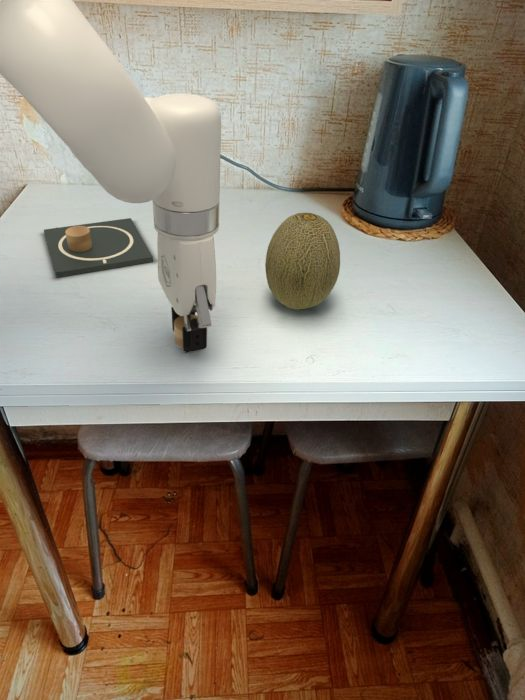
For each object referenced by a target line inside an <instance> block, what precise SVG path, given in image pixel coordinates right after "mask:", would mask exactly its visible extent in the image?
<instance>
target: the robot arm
mask: <svg viewBox="0 0 525 700" xmlns="http://www.w3.org/2000/svg"><path fill="white" fill-rule="evenodd" d="M0 76H1V77H3V78H4V79H5V80H6V82H8V83H9V84H10V85H11V87H13V88H14V89H15V90H16V91H17V92H18V93H19V94H20V96H22V97H23V99H24V100H25V101H26V102H27V103H28V104H29V105H30V107H32V108H33V110H35V111H36V113H37V114H38V115H39V116H40V117H41V118H42V119H43V120H44V122H45V123H46V124H47V125H48V126H49V127H50V128H51V130H52V131H53V132H54V133H55V134H56V135H57V136H58V138H60V139H61V141H62V142H63V143H64V145H66V146H67V147H68V149H69V150H70V152H71V154H72V155H73V156H74V157H75V158H76V160H77V161H78V162H79V163H80V164H81V165H82V167H83V168H85V169H86V171H87V172H88V173H89V174H90V175H91V176H92V177H93V178H94V179H95V180H96V181H97V183H98V184H99V186H101V188H102V189H103V190H104V191H105V192H106V193H108V195H110V196H112V197H113V198H115V199H117V200H120V201H121V202H124V203H129V204H144V203H149V202H151V201H152V213H153V226H154V230H155V231H156V232H157V243H156V245H157V248H156V249H157V278H158V282H159V285H160V287H161V289H162V291H163V292H164V295H165V296H166V298H167V301H168V302H169V303H170V307H171V308H170V309H171V326H172V327H171V328H172V331H173V332H174V321H175V319H176V318H178V317H179V316H184V322H185V327H182V334H183V348H182V351H183V352H184V353H185V354H188V353H192V352H197V351H201V350H206V349H207V347H208V328H209V327H212V319H211V314H210V311H213V310H214V309H215V307H216V301H217V263H216V248H215V247H216V246H215V238H214V237H215V236H214V235H216V234H217V233H218V231H219V230H220V198H221V195H220V194H221V153H222V152H221V149H222V147H221V146H222V115H221V111H220V108H219V106H218V104H217V103H216V102H214V101H213V100H212V99H210V98H208V97H206V96H202V95H199V94H193V93H183V92H182V93H181V92H179V93H177V92H175V93H166V94H163V95H159V96H156V97H152V96H151V97H150V96H149V97H148V96H143V94H142V93H141V90H140V89H139V88H138V87H137V85H136V83H135V82H134V81H133V79H132V78H131V76H130V75H129V74H128V72H127V71H126V69H125V68H124V66H122V63H120V61H119V60H118V59H117V57H116V56H115V54H114V53H113V51H112V50H111V49H110V47H108V45H107V44H106V42H105V41H104V40H103V39H102V37H101V36H100V35H99V34H98V32H97V31H96V30H95V28H94V27H93V26H92V24H91V23H90V22H89V21H88V19H87V18H86V17H85V15H84V14H83V13H82V11H81V10H80V8H79V7H78V6H77V5H76V3H75V1H74V0H0ZM190 314H192V315H197V318H194V319H192V320H191V317H190Z"/></svg>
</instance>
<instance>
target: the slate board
mask: <svg viewBox="0 0 525 700" xmlns="http://www.w3.org/2000/svg"><path fill="white" fill-rule="evenodd" d="M133 221H134V220H132V218H131V217H127V218H119V219H114V220H105V221H99V222H91V223H83V224H75V225H69V226H60V227H52V228H46V229H43V234H44V237H45V241H46V244H47V245H46V246H47V248H48V251H49V255H50V259H51V262H52V266H53V269H54V274H55V277H56V278H62V277H69V276H75V275H80V274H88V273H93V272H98V271H105V270H110V269H111V270H112V269H116V268H122V267H130V266H134V265H142V264H147V263H152V262H154V256H153V254H152V253H151V251H150V249H149V248H148V246H147V244H146V242H145V241H144V239H143V237H142V235H141V233H140V231H139V230H138V228H137V227H136V224H135V223H134V222H133ZM73 226H85V227H88V228H89V229H90V234H91V240H92V248H91V249H89V250H87V251H84V252H74V251H71V250H70V249H69V248H68V243H67V238H66V233H65V231H66V230H67V229H68V228H70V227H73Z"/></svg>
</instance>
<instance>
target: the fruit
mask: <svg viewBox="0 0 525 700" xmlns="http://www.w3.org/2000/svg"><path fill="white" fill-rule="evenodd" d="M338 240H339V239H338V237H337V235H336V232H335V230H334V228H333V226H332V224H331V223H329V221H328V220H327V219H326V218H324V217H323V216H321V215H319V214H315V213H312V212H297V213H295V214H292V215H290V216H288V217H287V218H286V219H285V220H283V221H282V222H281V223H280V225H278V227H277V229H276V230H275V231H274V232H273V235H272V236H271V239H270V241H269V244H268V246H267V251H266V255H265V264H264V267H265V268H264V269H265V278H266V280H267V285H268V288H269V290H270V293H272V295H273V297H274V298H275V299H276V300H277V301H278V303H280V304H282V305H283V306H285V307H286V308H288V309H291V310H307V309H310V308H314V307H315V306H318V305H320V304H321V303H322V302H324V300H326V299H327V298H328V297H329V296H330V294H331V293H332V291H333V289H334V287H335V285H336V283H337V281H338V278H339V276H340V270H341V250H340V244H339V241H338Z"/></svg>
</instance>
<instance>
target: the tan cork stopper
mask: <svg viewBox="0 0 525 700" xmlns="http://www.w3.org/2000/svg"><path fill="white" fill-rule="evenodd" d="M190 317H191V320H192V319H194V318H197V314H195V315H192V314H190ZM182 327H185V322H184V316H179V317H178V318H176V319H175V321H174V331H173V333H174V335H173V336H174V343H175V345H176V346H177V347H179V348H181V349H183V334H182Z"/></svg>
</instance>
